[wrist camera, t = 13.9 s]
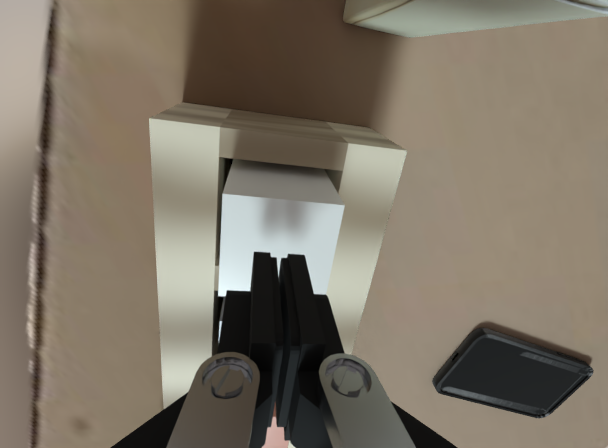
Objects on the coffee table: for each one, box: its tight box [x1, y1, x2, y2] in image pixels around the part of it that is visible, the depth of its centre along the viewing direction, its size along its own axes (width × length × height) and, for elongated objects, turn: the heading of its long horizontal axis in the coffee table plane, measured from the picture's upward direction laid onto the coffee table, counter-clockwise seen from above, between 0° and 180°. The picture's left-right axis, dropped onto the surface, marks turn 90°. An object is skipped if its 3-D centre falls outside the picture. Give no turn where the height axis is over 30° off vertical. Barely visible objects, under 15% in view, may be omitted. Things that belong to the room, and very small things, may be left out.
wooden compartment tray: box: [149, 102, 407, 448], centre depth 21 cm, size 22×11×6 cm, turn 172°
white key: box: [218, 159, 345, 296], centre depth 16 cm, size 4×4×6 cm
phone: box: [432, 328, 593, 418], centre depth 32 cm, size 8×1×15 cm
